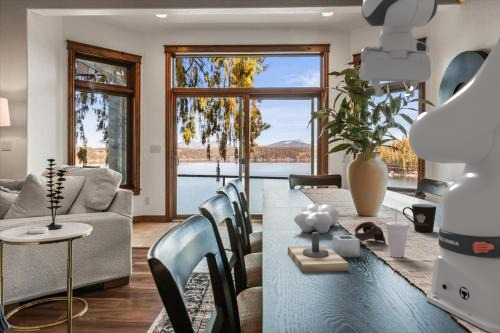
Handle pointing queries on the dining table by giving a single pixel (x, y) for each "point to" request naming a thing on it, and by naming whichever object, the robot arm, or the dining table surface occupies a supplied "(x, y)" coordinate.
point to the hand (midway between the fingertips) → (394, 96)
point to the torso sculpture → (317, 218)
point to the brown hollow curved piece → (369, 232)
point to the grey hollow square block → (346, 245)
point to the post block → (317, 257)
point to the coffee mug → (423, 217)
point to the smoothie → (397, 237)
